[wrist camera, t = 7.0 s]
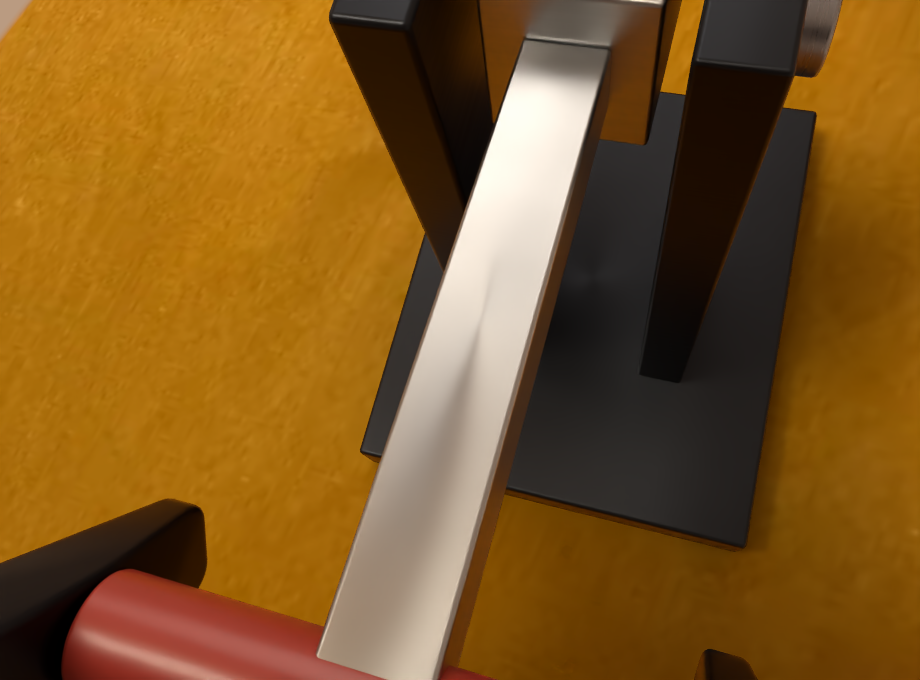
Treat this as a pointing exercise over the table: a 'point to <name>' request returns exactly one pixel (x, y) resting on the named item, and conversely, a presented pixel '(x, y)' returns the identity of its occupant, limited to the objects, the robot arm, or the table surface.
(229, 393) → the table surface
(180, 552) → the robot arm
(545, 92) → the lever
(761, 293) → the bracket
